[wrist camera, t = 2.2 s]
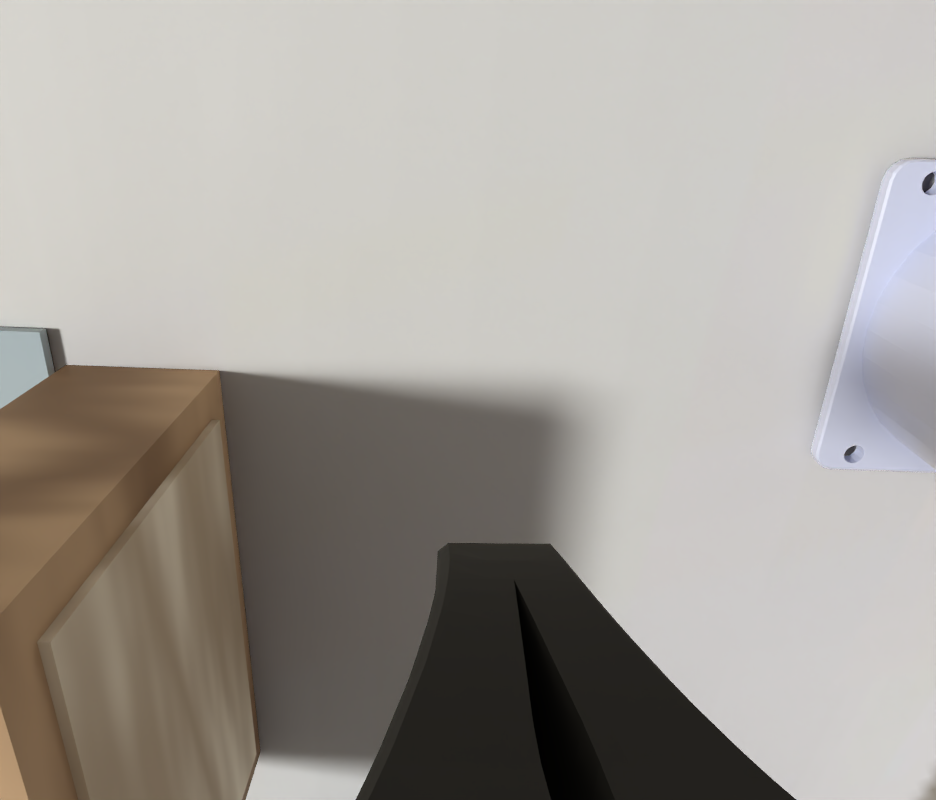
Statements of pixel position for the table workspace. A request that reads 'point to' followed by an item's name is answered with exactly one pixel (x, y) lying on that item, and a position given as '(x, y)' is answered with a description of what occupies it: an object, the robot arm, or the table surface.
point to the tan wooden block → (122, 592)
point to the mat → (22, 361)
